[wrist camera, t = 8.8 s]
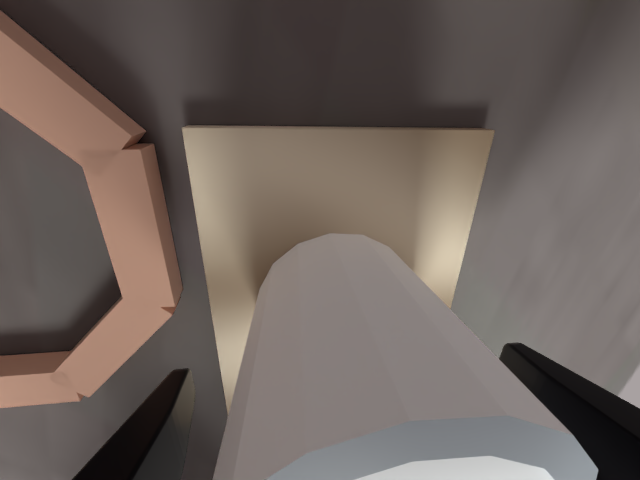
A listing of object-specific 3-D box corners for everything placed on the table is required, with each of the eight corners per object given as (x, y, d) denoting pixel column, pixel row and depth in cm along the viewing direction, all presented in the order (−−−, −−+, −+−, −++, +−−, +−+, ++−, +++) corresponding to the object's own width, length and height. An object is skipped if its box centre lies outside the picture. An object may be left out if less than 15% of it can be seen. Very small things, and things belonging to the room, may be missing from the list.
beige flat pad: (421, 390, 15) (427, 401, 15) (230, 408, 14) (228, 421, 14) (483, 128, 10) (494, 130, 9) (187, 125, 9) (181, 127, 8)
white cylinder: (259, 382, 13) (241, 664, 7) (218, 230, 10) (116, 486, 4) (421, 355, 13) (550, 593, 7) (432, 201, 10) (676, 382, 4)
